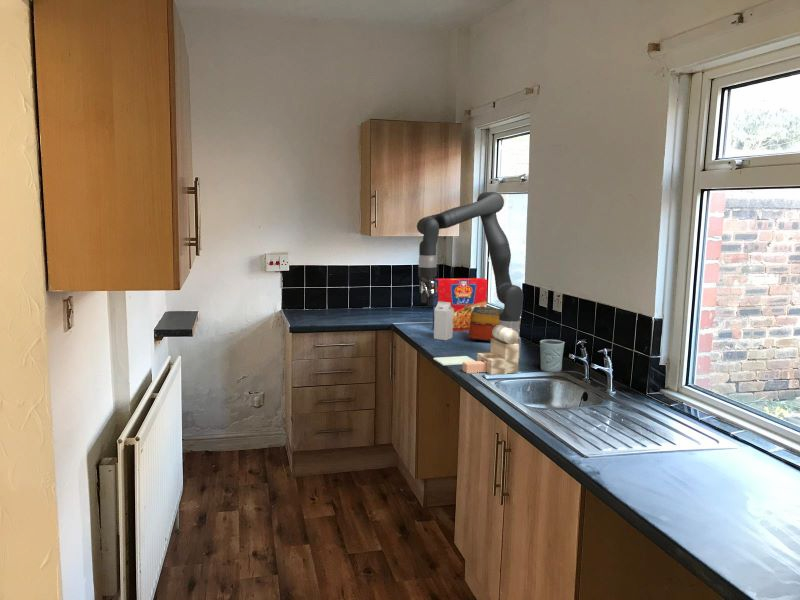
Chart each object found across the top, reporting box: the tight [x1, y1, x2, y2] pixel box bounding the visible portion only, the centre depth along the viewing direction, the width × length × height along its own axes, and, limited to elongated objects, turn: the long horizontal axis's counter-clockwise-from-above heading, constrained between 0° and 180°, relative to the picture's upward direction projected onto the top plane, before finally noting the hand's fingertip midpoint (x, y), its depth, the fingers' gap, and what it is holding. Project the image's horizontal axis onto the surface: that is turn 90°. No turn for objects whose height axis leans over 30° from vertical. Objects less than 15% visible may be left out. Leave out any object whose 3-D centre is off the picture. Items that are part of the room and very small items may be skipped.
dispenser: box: [476, 325, 519, 376], centre depth 280 cm, size 12×14×18 cm
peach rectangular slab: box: [462, 360, 487, 374], centre depth 279 cm, size 13×5×4 cm, turn 105°
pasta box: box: [432, 277, 488, 332], centre depth 369 cm, size 28×8×28 cm, turn 105°
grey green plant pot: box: [539, 339, 565, 373], centre depth 284 cm, size 10×10×12 cm
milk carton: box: [433, 301, 454, 341], centre depth 344 cm, size 7×7×19 cm
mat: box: [433, 355, 476, 366], centre depth 296 cm, size 16×12×1 cm
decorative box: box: [468, 306, 504, 343], centre depth 343 cm, size 20×22×16 cm
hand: (427, 304), depth 285 cm, fingers open, 8 cm apart
